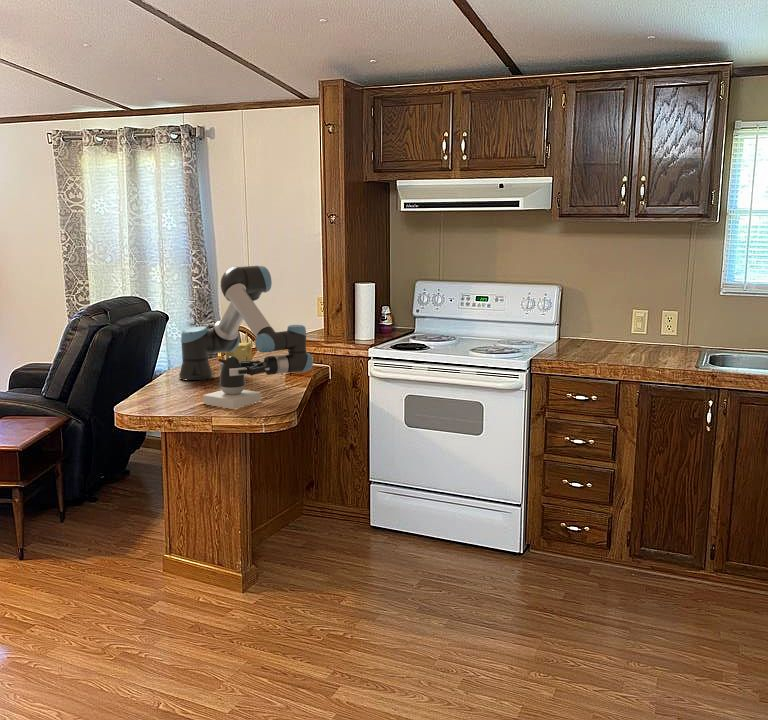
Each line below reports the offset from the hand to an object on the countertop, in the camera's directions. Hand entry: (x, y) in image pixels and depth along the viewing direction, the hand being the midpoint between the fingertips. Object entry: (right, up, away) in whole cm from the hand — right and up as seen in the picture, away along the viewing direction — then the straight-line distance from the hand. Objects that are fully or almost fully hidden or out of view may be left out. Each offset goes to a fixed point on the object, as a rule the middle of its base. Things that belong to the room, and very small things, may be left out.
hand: (224, 369), depth 317 cm
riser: (+2, -14, +4) cm, 14 cm away
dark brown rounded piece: (+3, -10, +3) cm, 11 cm away
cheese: (-11, +2, +92) cm, 93 cm away
